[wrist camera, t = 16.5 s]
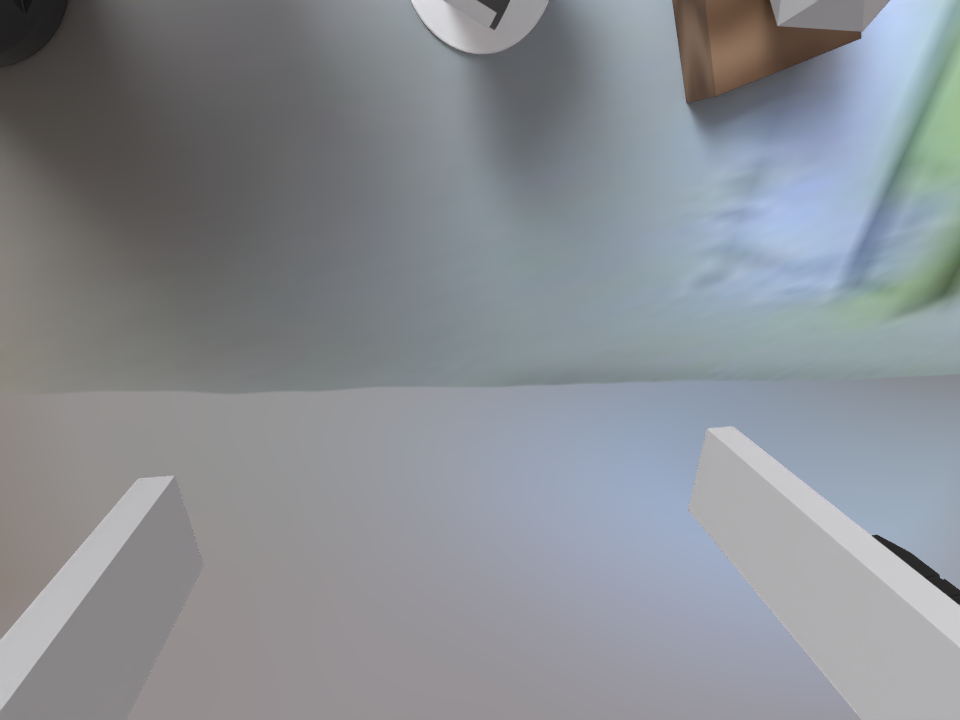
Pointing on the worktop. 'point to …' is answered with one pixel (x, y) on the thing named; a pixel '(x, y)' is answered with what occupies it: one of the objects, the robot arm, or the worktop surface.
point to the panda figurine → (480, 22)
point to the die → (827, 13)
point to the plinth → (741, 44)
